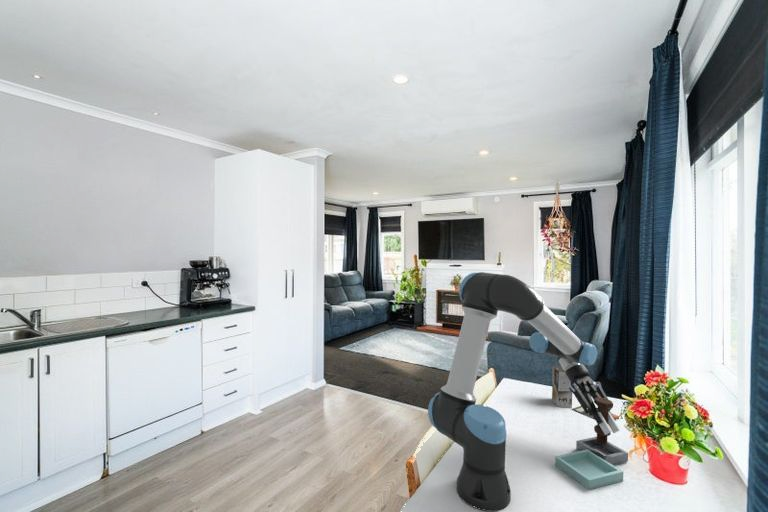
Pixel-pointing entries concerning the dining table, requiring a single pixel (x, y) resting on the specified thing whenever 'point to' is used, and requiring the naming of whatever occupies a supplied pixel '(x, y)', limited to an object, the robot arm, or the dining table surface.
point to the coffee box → (561, 388)
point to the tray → (589, 469)
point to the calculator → (581, 410)
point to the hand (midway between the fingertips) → (612, 432)
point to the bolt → (604, 409)
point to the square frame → (615, 453)
